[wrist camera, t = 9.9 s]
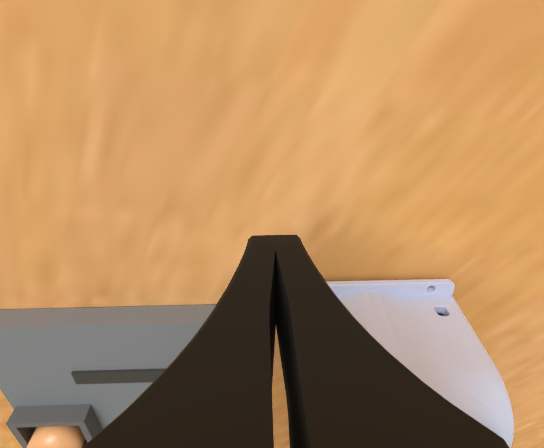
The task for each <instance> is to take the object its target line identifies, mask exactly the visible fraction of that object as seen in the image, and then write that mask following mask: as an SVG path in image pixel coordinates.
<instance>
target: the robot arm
mask: <svg viewBox="0 0 544 448" xmlns="http://www.w3.org/2000/svg"><path fill="white" fill-rule="evenodd" d="M430 286H431V287H430ZM428 287H429V288H428ZM454 289H455V285H454V283H453V281H452V280H450V279H414V280H370V281H325V280H324V278H323V277H322V275H321V274H320V273H319V271H318V270H317V268H316V266H315V265H314V263H313V262H312V260H311V258H310V257H309V255H308V253H307V252H306V250H305V248H304V246H303V244H302V242H301V239H300V238H299V237H298V236H297V235H264V236H251V237H250V238H249V239H248V243H247V246H246V249H245V252H244V255H243V257H242V259H241V261H240V264H239V266H238V268H237V270H236V272H235V274H234V276H233V277H232V279H231V281H230V283H229V285H228V287H227V289H226V290H225V292H224V293H223V295H222V297H221V298H220V300H219V301H218V303H217V305H216V306H215V308H214V309H213V311H212V312H211V314H210V315H209V317H208V318H207V320H206V321H205V322H204V324H203V325H202V327H201V328H200V329H199V330H198V332H197V333H196V334H195V336H194V337H193V338H192V340H191V341H190V342H189V343H188V344H187V346H186V347H185V348H184V349H183V350H182V351H181V353H180V354H179V355H178V356H177V357H176V359H175V360H174V361H173V362H172V363H171V364H170V365H169V366H168V368H167V369H166V370H165V371H164V372H163V373H162V374H161V375H160V376H159V377H158V378H157V379H156V380H155V381H154V382H153V383H152V384H151V385H150V386H149V387H148V388H147V389H146V390H145V391H144V392H143V393H142V394H141V395H140V396H139V397H138V398H137V399H136V400H135V401H134V402H133V403H132V404H131V405H130V406H129V407H128V408H127V409H126V410H125V411H123V412H122V413H121V414H120V415H119V416H118V417H117V418H115V419H114V420H113V421H112V422H111V423H110V424H109V425H107V426H106V427H105V428H104V429H103V430H102V431H101V432H99V433H98V434H97V435H96V436H95V437H94V438H93V439H91V440H90V441H89V442H88V443H87V444H86V445H85V446H83V447H82V448H274V444H273V415H272V377H273V360H274V344H275V327H276V328H277V335H278V342H279V349H280V356H281V362H282V369H283V376H284V383H285V390H286V397H287V407H288V419H289V437H290V448H511V445H512V441H513V434H514V420H513V413H512V408H511V404H510V400H509V396H508V393H507V390H506V387H505V385H504V382H503V380H502V378H501V375H500V373H499V372H498V370H497V368H496V366H495V364H494V363H493V361H492V360H491V358H490V356H489V355H488V353H487V351H486V350H485V348H484V346H483V345H482V343H481V342H480V340H479V338H478V337H477V335H476V333H475V332H474V330H473V328H472V327H471V325H470V323H469V322H468V320H467V319H466V317H465V315H464V314H463V312H462V310H461V309H460V307H459V305H458V304H457V302H456V301H455V299H454V297H453V296H452V294H453V292H454Z"/></svg>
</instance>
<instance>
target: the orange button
mask: <svg viewBox="0 0 544 448" xmlns="http://www.w3.org/2000/svg"><path fill="white" fill-rule="evenodd" d="M84 441H85V437H84V435H83V433H82V431H81V429H80V427H79V426H52V427H36V429H35V431H34V433H33V435H32V437H31V439H30V441H29V443H28V445H27V447H26V448H82V447H83V444H84Z"/></svg>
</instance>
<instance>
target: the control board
mask: <svg viewBox="0 0 544 448" xmlns="http://www.w3.org/2000/svg"><path fill="white" fill-rule="evenodd" d="M216 305H217V304H216ZM216 305H173V306H131V307H88V308H45V309H3V310H0V389H1V391H2V392H3V394H4V395H5V397H6V398H7V400H8V401H9V403H10V404H11V406H12V407H13V409H14V411H13V413H12V414H11V416H10V418H9V420H8V421H7V423H6V425H7V426H8V427H9V429H10V430H11V432H12V433H13V434H14V436H15V437H16V439H17V440H18V441H19V443H20V444H21V446H22V447H23V448H26V447H27V445H28V443H29V441H30V439H31V437H32V435H33V433H34V431H35V429H36V427H52V426H79V427H80V429H81V431H82V433H83V435H84V437H85V441H84V444H83V446H85V445H86V444H87V443H88V442H89V441H90V440H91V439H93V438H94V437H95V436H96V435H97V434H98V433H99V432H101V431H102V430H103V429H104V428H105V427H106V426H107V425H109V424H110V423H111V422H112V421H113V420H114V419H115V418H117V417H118V416H119V415H120V414H121V413H122V412H123V411H125V410H126V409H127V408H128V407H129V406H130V405H131V404H132V403H133V402H134V401H135V400H136V399H137V398H138V397H139V396H140V395H141V394H142V393H143V392H144V391H145V390H146V389H147V388H148V387H149V386H150V385H151V384H152V383H153V382H154V381H155V380H156V379H157V378H158V377H159V376H160V375H161V374H162V373H163V372H164V371H165V370H166V369H167V368H168V366H169V365H170V364H171V363H172V362H173V361H174V360H175V359H176V357H177V356H178V355H179V354H180V353H181V351H182V350H183V349H184V348H185V347H186V346H187V344H188V343H189V342H190V341H191V340H192V338H193V337H194V336H195V334H196V333H197V332H198V330H199V329H200V328H201V327H202V325H203V324H204V322H205V321H206V320H207V318H208V317H209V315H210V314H211V312H212V311H213V309H214V308H215V306H216Z"/></svg>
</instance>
